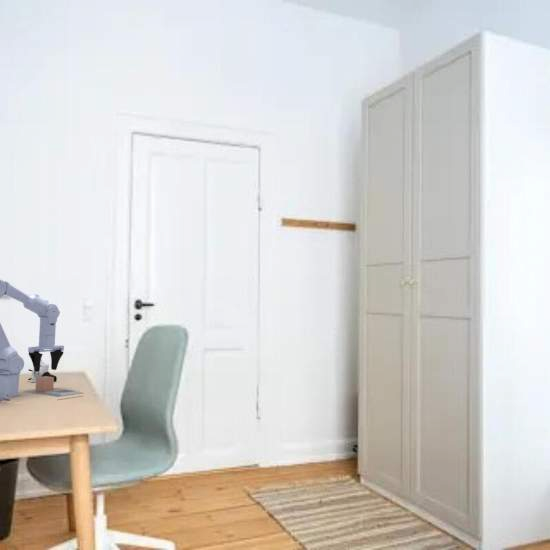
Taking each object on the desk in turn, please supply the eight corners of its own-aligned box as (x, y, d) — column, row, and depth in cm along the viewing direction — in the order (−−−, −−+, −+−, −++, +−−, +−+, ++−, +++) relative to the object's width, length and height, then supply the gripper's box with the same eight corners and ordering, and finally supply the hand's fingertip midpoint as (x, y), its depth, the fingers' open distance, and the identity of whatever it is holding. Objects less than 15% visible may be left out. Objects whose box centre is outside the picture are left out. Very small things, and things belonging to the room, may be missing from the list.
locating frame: (79, 393, 212) (80, 391, 212) (61, 396, 205) (61, 393, 205) (64, 390, 217) (65, 388, 217) (45, 393, 209) (45, 391, 209)
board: (84, 396, 214) (84, 392, 214) (57, 400, 203) (57, 396, 203) (49, 390, 224) (49, 387, 224) (22, 394, 213) (22, 390, 214)
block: (53, 390, 217) (53, 377, 217) (43, 391, 213) (43, 378, 214) (45, 389, 219) (46, 376, 220) (35, 390, 216) (36, 377, 216)
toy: (35, 363, 251) (59, 357, 244) (35, 390, 247) (59, 384, 241) (23, 362, 245) (48, 355, 239) (23, 389, 242) (47, 383, 235)
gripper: (56, 333, 226) (54, 368, 225) (23, 335, 213) (22, 371, 213) (68, 334, 222) (66, 369, 221) (35, 336, 210) (33, 372, 209)
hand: (45, 370), depth 217 cm, fingers open, 7 cm apart
